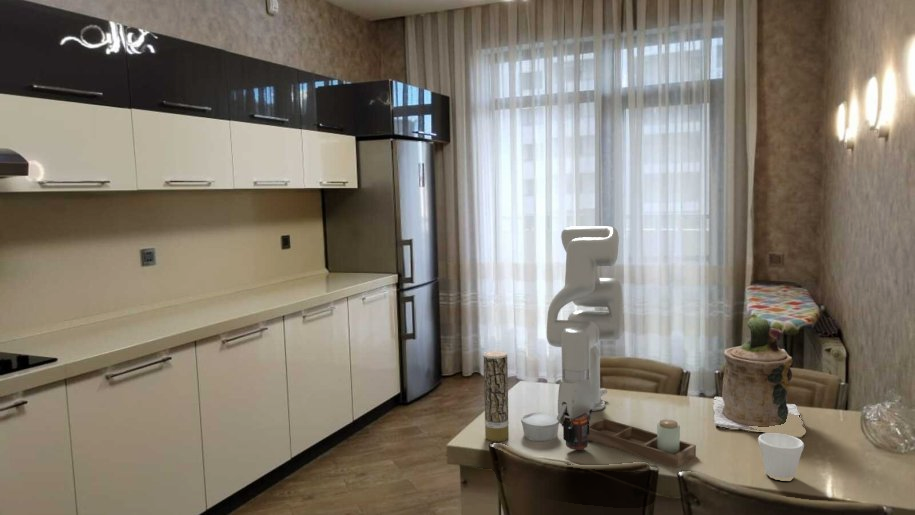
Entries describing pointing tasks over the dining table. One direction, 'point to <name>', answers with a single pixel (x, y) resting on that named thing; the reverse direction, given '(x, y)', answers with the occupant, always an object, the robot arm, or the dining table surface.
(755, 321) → the cookie jar
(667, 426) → the sage jar
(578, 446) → the supplement bottle
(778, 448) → the cup
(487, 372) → the bark-patterned cylinder
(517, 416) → the dining table surface
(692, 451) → the rack
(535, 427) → the ramekin
